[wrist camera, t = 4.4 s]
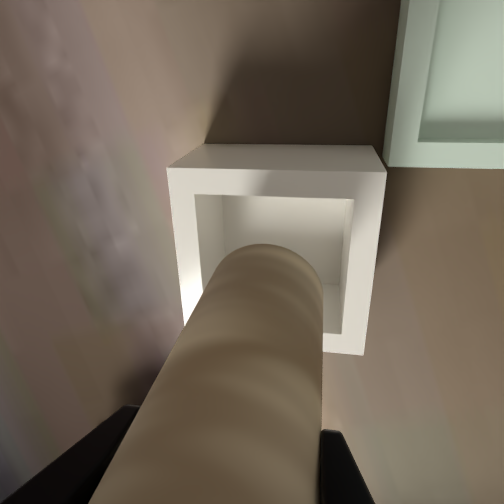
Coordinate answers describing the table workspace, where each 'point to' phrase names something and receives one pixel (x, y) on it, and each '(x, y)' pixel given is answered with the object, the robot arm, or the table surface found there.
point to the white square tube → (284, 220)
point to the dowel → (234, 394)
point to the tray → (447, 86)
